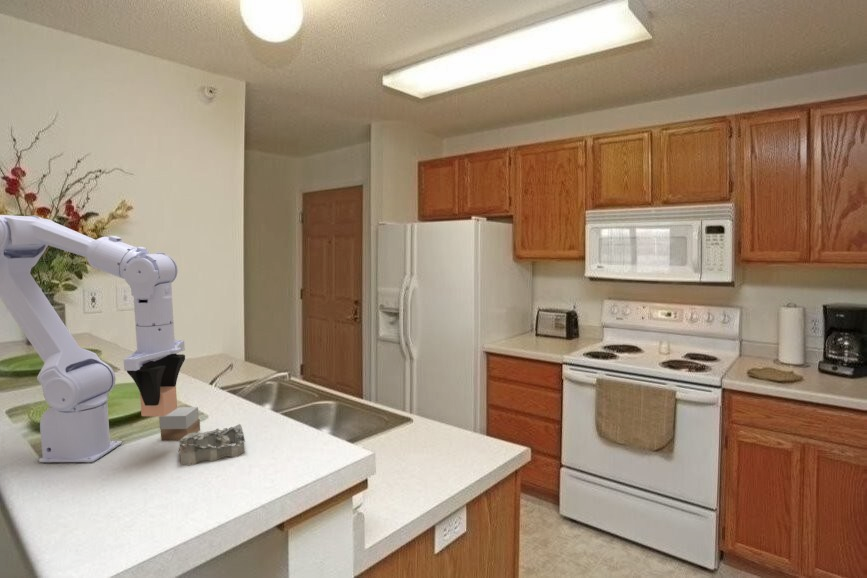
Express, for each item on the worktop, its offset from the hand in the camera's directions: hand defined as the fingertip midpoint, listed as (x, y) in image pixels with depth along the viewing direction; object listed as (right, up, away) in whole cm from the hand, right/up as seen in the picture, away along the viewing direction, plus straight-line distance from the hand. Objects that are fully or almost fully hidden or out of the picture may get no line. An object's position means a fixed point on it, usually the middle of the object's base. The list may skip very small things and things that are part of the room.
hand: (159, 400), depth 85 cm
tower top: (-1, -7, +9) cm, 12 cm away
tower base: (-1, -9, +10) cm, 14 cm away
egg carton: (+9, -10, +2) cm, 13 cm away
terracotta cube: (0, -2, 0) cm, 2 cm away
